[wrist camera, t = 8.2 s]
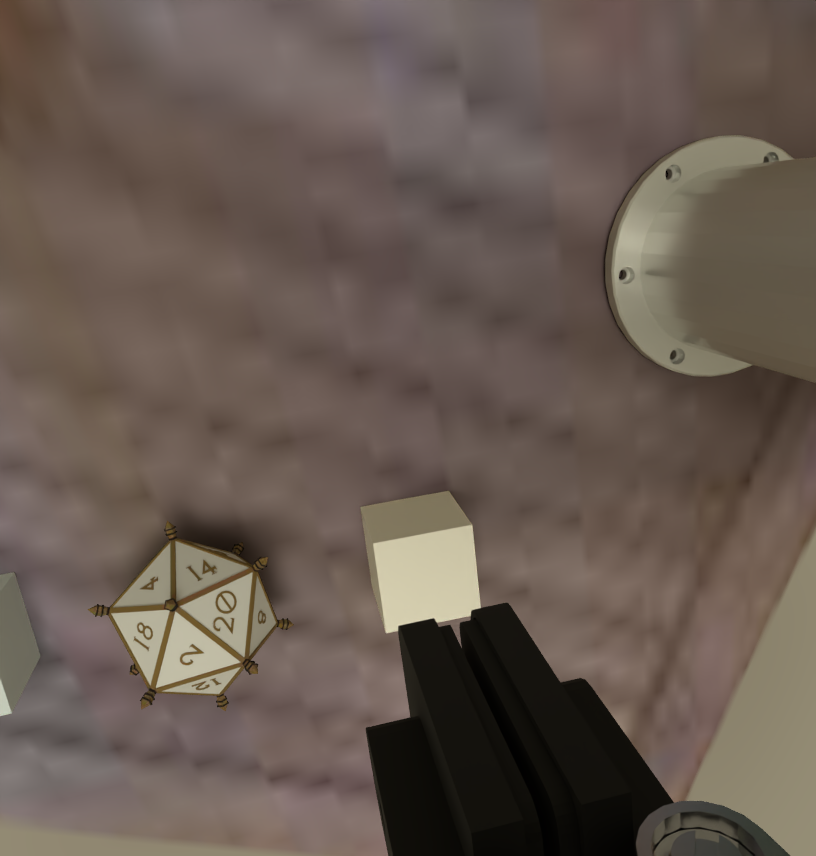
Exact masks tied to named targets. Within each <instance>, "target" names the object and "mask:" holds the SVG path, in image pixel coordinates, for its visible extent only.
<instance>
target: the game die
mask: <svg viewBox="0 0 816 856" xmlns="http://www.w3.org/2000/svg"><path fill="white" fill-rule="evenodd" d="M175 528H176V526H173V525H172V524H171V523H169V522H168V521H167V523H166V527H165V529H164V531H166V536H168V537H169V541H168V542H167V543H166V544H165V545H164V546H163V548H162V549H161V550H160V551H159V552H158V553H157V554H156V555H155V557H154V558H153V559H152V560H151V561H150V562H149V563H148V564H147V566H146V567H145V568H144V569H143V570H142V571H141V572H140V573H139V575H138V576H137V577H136V578H135V579H134V580H133V581H132V583H131V584H130V585H129V586H128V587H127V588H126V589H125V590H124V592H123V593H122V594H121V595H120V596H119V597H118V598H117V599H116V601H115V602H114V603H113V604H112V605H111V606H110V607H105V606H104V605H102V606H100V605H98V604H97V605H96V606H94V607H92V608H90V609H88V610H89V611H90V612H91V613H93V614H94V615H95V617H96V616H100V617H102V616H103V615H108V616H109V618H110V619H111V621H112V623H113V625H114V627H115V629H116V630H117V632H118V634H119V636H120V638H121V640H122V641H123V643H124V645H125V647H126V649H127V651H128V652H129V654H130V656H131V658H132V660H133V662H134V665H131V668H130V675H137V674H138V673H140V675H141V676H142V678H143V680H144V682H145V684H146V686H147V687H148V689H149V691H148V692H147V693H146V692H145V694H144V697H142V698H141V700H140V701H141V709H143V708H145V707H147V706H149V705H152V701H153V700H155V698H154V696H155V694H156V693H166V694H190V695H213V696H217V701H216V703H218V705H217V707H220V708H221V709H223V710H224V711H226V708H227V704H229V703H228V701H227V698H226V696H224V692H225V691H226V690H227V689H228V687H229V686H230V685H231V684H232V683H233V681H234V680H235V679H236V678H237V676H238V675H239V674H240V673H241V672H242V670H243V669H244V668H245V670H246V671H248V673H249V675H250V674H258V668H257V667H258V664H255V662H254V661H250V660H251V659H252V658H253V657H254V655H255V654H256V653H257V652H258V650H259V649H260V648H261V646H262V645H263V644H264V643H265V641H266V640H267V639H268V638H269V636H270V635H271V634H272V633H273V631H274V630H275V629H276V627H280V628H281V629H283V628H284V629H286V630H287V629H288V628H290V627H291V626H293V625H294V624H292V623H291V622H290V621H289V620H288V618H287V619H284V618H283V619H282V620H277V618H276V615H275V613H274V610H273V608H272V605H271V603H270V600H269V598H268V595H267V593H266V590H265V588H264V585H263V583H262V580H261V578H260V575H259V573H258V570H260V569H261V570H263V568H264V567H267V560H268V557H260V558H259V559H258V560H257V561H255V562H254V565H252V564H250V563H249V562H247V561H246V560H244V559H243V558H241V557H240V556H238V555H240V554H241V552H242V551H243V549H244V547H243V543H242V542H241V543H239V544H235V545H234V548H232V550H233V552H229V551H225V550H221V549H217V548H213V547H210V546H206V545H202V544H198V543H194V542H191V541H187V540H183V539H179V538H177V537H176V532H177V531H176V530H175Z"/></svg>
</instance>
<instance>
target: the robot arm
mask: <svg viewBox="0 0 816 856" xmlns="http://www.w3.org/2000/svg"><path fill="white" fill-rule="evenodd" d="M763 161H764V162H763ZM666 170H667V171H668V177H667V178H666V176H665V173H666ZM621 270H622V272H623V276H622V277H621V278H620V279H619V273H620V271H621ZM605 283H606V289H607V294H608V299H609V304H610V307H611V309H612V312H613V314H614V317H615V320H616V322H617V324H618V326H619V327H620V329H621V330H622V332H623V334H624V335H625V337H626V338H627V340H628V341H629V342H630V343H631V344H632V345H633V346H634V347H635V348H636V349H637V350H638V351H639V352H640V353H641V354H642V355H643V356H645V357H646V358H648V359H650V360H651V361H653V362H654V363H656V364H657V365H659V366H662V367H664V368H667V369H669V370H672V371H675V372H679V373H683V374H687V375H691V376H708V377H713V376H719V375H725V374H731V373H734V372H737V371H739V370H742V369H745V368H747V367H750V366H752V365H756V366H759V367H763V368H766V369H769V370H773V371H776V372H780V373H783V374H786V375H790V376H793V377H797V378H800V379H803V380H807V381H810V382H814V383H816V157H811V158H802V159H794V158H792V157H791V156H790V155H789V154H787V153H786V152H785V151H784V150H782V149H781V148H779V147H777V146H775V145H773V144H771V143H769V142H766V141H764V140H762V139H757V138H752V137H748V136H743V135H736V136H717V137H711V138H706V139H701V140H698V141H695V142H693V143H690V144H687V145H684V146H681V147H679V148H678V149H676V150H674V151H673V152H671V153H669V154H668V155H666V156H664V157H662V158H661V159H660V160H659V161H658V162H656V163H655V164H654V165H653V166H652V167H651V168H650V169H648V170H647V171H646V172H645V173H644V174H643V175H642V176H641V178H640V179H639V180H638V181H637V183H636V184H635V185H634V186H633V188H632V189H631V190H630V191H629V193H628V195H627V196H626V198H625V200H624V202H623V204H622V205H621V207H620V209H619V211H618V213H617V215H616V218H615V221H614V224H613V227H612V229H611V232H610V235H609V240H608V246H607V252H606V258H605ZM671 352H672V356H671V357H670V354H671ZM398 634H399V641H400V648H401V655H402V662H403V669H404V676H405V683H406V690H407V696H408V703H409V710H410V717H411V718H406V719H402V720H398V721H393V722H389V723H385V724H380V725H376V726H372V727H368V728H366V734H367V741H368V747H369V753H370V759H371V765H372V771H373V777H374V783H375V788H376V794H377V799H378V805H379V810H380V815H381V821H382V826H383V831H384V836H385V841H386V846H387V851H388V856H790V855H789V854H788V853H787V852H786V851H785V850H784V849H783V848H782V847H781V846H780V845H778V844H777V843H776V842H775V841H774V840H773V839H772V838H771V837H770V836H769V835H768V834H767V833H766V832H765V831H764V830H763V829H761V828H760V827H759V826H758V825H756V824H755V823H754V822H752V821H751V820H749V819H748V818H747V817H745V816H744V815H742V814H740V813H738V812H735V811H733V810H731V809H729V808H727V807H725V806H722V805H717V804H713V803H708V802H704V801H680V802H676V803H674V802H673V801H672V799H671V798H670V796H669V795H668V794H667V792H666V791H665V789H664V788H663V787H662V785H661V784H660V782H659V781H658V780H657V778H656V777H655V775H654V774H653V773H652V771H651V770H650V768H649V767H648V766H647V764H646V763H645V761H644V760H643V759H642V757H641V756H640V754H639V753H638V752H637V750H636V749H635V747H634V746H633V745H632V743H631V742H630V740H629V739H628V737H627V736H626V735H625V733H624V732H623V730H622V729H621V728H620V726H619V725H618V723H617V722H616V721H615V719H614V718H613V716H612V715H611V714H610V712H609V711H608V709H607V708H606V707H605V705H604V704H603V702H602V701H601V700H600V698H599V697H598V695H597V694H596V693H595V691H594V690H593V688H592V687H591V686H590V685H589V683H588V682H587V681H586V680H584V679H582V678H579V679H574V680H570V681H566V682H561V683H560V681H559V680H558V678H557V677H556V675H555V674H554V672H553V670H552V669H551V667H550V666H549V664H548V663H547V661H546V660H545V658H544V657H543V655H542V654H541V652H540V651H539V649H538V647H537V646H536V644H535V643H534V641H533V640H532V638H531V637H530V635H529V634H528V632H527V631H526V629H525V627H524V626H523V624H522V623H521V621H520V620H519V618H518V617H517V615H516V614H515V612H514V611H513V609H512V608H511V606H510V605H509V604H508V603H502V604H498V605H493V606H488V607H484V608H479V609H474V610H472V611H471V620H470V621H465V622H461V623H460V636H461V645H462V648H461V646H460V644H459V642H458V640H457V638H456V636H455V633H454V631H453V629H452V627H451V626H450V625H447V626H442V627H438V625H437V622H436V620H435V619H434V618H432V619H427V620H423V621H418V622H413V623H409V624H404V625H399V626H398Z"/></svg>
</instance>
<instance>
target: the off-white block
mask: <svg viewBox="0 0 816 856" xmlns="http://www.w3.org/2000/svg"><path fill="white" fill-rule="evenodd" d="M360 508H361V515H362V522H363V529H364V535H365V542H366V549H367V556H368V563H369V570H370V577H371V583H372V589H373V592H374V596H375V599H376V602H377V606H378V609H379V612H380V615H381V619H382V622H383V625H384V629H385V632H386V633H390V632H395V631H398V626H399V625H404V624H409V623H413V622H418V621H423V620H427V619H432V618H434V619H435V620H436V622H437V623H438V622H443V621H448V620H452V619H457V618H462V617H467V616H471V611H472V610H474V609H479V608H481V607H480V597H479V587H478V577H477V567H476V557H475V547H474V537H473V527H472V524H471V522H470V521H469V519H468V518H467V516H466V515H465V514H464V512H463V511H462V509H461V508H460V506H459V505H458V503H457V502H456V501H455V499H454V498H453V496H452V495H451V493H450V492H449V491H444V492H439V493H433V494H428V495H422V496H417V497H411V498H406V499H400V500H395V501H389V502H384V503H379V504H373V505H368V506H362V507H360Z"/></svg>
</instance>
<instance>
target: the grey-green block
mask: <svg viewBox="0 0 816 856" xmlns="http://www.w3.org/2000/svg"><path fill="white" fill-rule="evenodd" d="M39 658H40V653H39V649H38V646H37V643H36V640H35V636H34V633H33V630H32V627H31V624H30V620H29V617H28V614H27V611H26V607H25V604H24V601H23V598H22V595H21V591H20V588H19V585H18V582H17V579H16V575H15V572H12V573H7V574H2V575H0V716H2V715H7V714H11V713H12V712H13V710H14V708H15V706H16V704H17V702H18V700H19V698H20V696H21V694H22V692H23V690H24V688H25V686H26V684H27V682H28V680H29V678H30V676H31V674H32V672H33V670H34V668H35V666H36V664H37V662H38V660H39Z"/></svg>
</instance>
